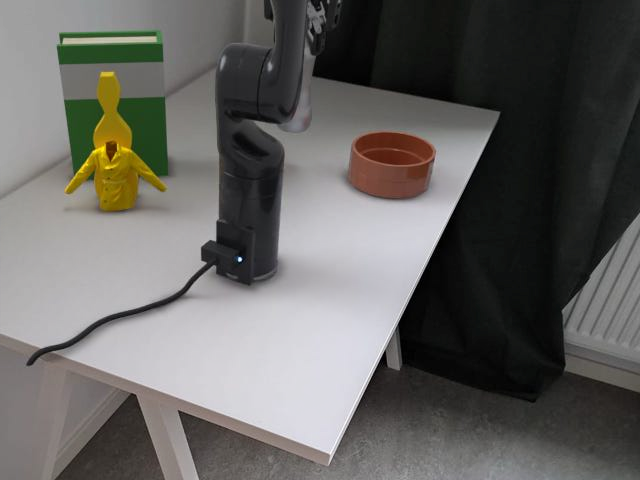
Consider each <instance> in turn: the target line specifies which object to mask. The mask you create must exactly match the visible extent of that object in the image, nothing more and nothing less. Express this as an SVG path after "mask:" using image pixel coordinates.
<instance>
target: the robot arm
mask: <svg viewBox="0 0 640 480" xmlns="http://www.w3.org/2000/svg"><path fill="white" fill-rule="evenodd" d="M326 4H327V5H328V8H327V12H326V11H325V8H324V4H323V0H263V17H264V19H265V20H267V21H268V20H269V21H271V22H272V23H273V39H272V40H273V44H274V47H273V46H266V45H259V44H251V43H250V44H249V43H243V42H232V43H228V44H227V45H226V46H225V47H224V48H223V50H222V51H221V53H220V55H219V57H218V60H217V64H216V70H215V75H214V76H215V78H214V101H215V103H214V105H215V119H216V147H217V152H218V218H217V220H216V221H215V240H212V239H209V240H207V241H206V242H205V243H204V244H203V245H202V246H201V247H200V262H203V263H205V264H204V265H203V266H202V267H200V268H199V270H197V271H196V272H195V273H194V274H193V275H192V276H191V277H190V278H189V279H188V280H187V282H186V283H185V285H184V286H183V287H182V288H181V289H179V290H178V291H177V292H175V293H174V294H172V295H171V296H170V295H169V296H168V297H166V298H163V299H161V300H158V301H155V302H152V303H148V304H145V305H143V306H139V307H136V308H131V309H128V310H124V311H119V312H116V313H113V314H108V315H107V316H104V317H102V318H100V319H98V320H96V321H94V322H92V323H91V324H90V325H88V326H87V327H86V328H85V329H83V330H82V331H81V332H80V333H78V334H77V335H75V336H74V337H72V338H70V339H69V340H67V341H65V342H61V343H56V344H53V345H52V344H51V345H48V346H43V347H42V348H39V349H37V350H36V351H35V352H34V353H33V354H32V355H31V356H30V357H29V358H28V360H27V361H26V363H25V366H26V367H30V366H33V365H34V364H35V362H36V361H37V360H38V359H39V358H40V357H42V356H45V355H46V354H49V353H54V352H57V351H58V352H59V351H62V350H65V349H69V348H71V347H72V346H75V345H76V344H78V343H80V342H81V341H82V340H83V339H86V337H87V336H89V335H90V334H91V333H92V332H94V331H95V330H96V329H98V328H100V327H102V326H103V325H105V324H107V323H110V322H112V321H113V322H114V321H115V320H119V319H123V318H127V317H131V316H135V315H139V314H142V313H146V312H148V311H152V310H154V309H157V308H160V307H161V308H162V307H164V306H166V305H169V304H171V303H173V302H175V301H177V300H178V299H180V298H181V297H183V296H184V295H185V294H187V293H188V292H189V290H190V289H191V287H192V286H193V285H194V284H195V283H196V282H197V281H198V280H199V279H200V278H201V277H202V276H203V275H204V274H205V273H206V272H208V271H209V270H210V269H211V268H213V266H214V267H215V274H216V275H218V276H221V277H223V278H226V279H228V280H232V281H234V282H237V283H240V284H243V285H246V286H248V287H249V286H252V285H253V284H254V283H260V282H264V281H266V280H268V279H270V278H272V277H273V276H274V275H275V274H276V273H277V271H278V267H279V260H278V257H279V242H280V240H279V239H280V227H281V226H280V225H281V214H282V200H283V199H282V198H283V197H282V196H283V186H284V184H283V183H284V170H285V159H286V157H285V156H286V155H285V153H286V152H285V147H284V145H283V143H282V142H281V141H280V140H278V138H276V137H275V136H273V135H272V134H270V133H268V132H267V131H265V130H263V128H261V127H260V126H259V125H258V124H257V123H256V122H260V123H265V124H274V125H277V124H287V123H289V122H290V121H291V120H292V118H293V117H294V115H295V112H296V110H297V107H298V103H299V99H300V93H301V87H302V76H303V64H304V49H305V35H306V20H307V13H308V16H309V19H310V20H311V21H312V23H311V24H312V27H313V29H314V31H315V32H313V34H312V36H313V47H312V55H313V56H316V57H317V56H319V55H321V53H322V52H323V51H324V50H325V44H326V37H327V36H326V35H327V32H332V30H334V29H337V28H338V26H339V21H340V16H341V12H342V11H341V10H342V6H343V0H326ZM326 13H327V14H326ZM325 14H326V16H325Z"/></svg>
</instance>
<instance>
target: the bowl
mask: <svg viewBox="0 0 640 480" xmlns="http://www.w3.org/2000/svg"><path fill="white" fill-rule="evenodd" d="M436 155H437V150H436V148H435V145H434V144H432V143H431V142H430V141H428V140H427V139H424V138H422V137H420V136H418V135H415V134H411V133H408V132H402V131H395V130H378V131H370V132H366V133H364V134H361V135H358V136H356V138H354V139H353V140H352V143H351V146H350V154H349V162H348V169H347V179H348V181H349V183H350V184H351V185H352V186H353V187H354V188H356V189H358V190H360V191H361V192H364V193H366V194H370V195H372V196H377V197H381V198H388V199H389V198H390V199H402V198H410V197H415V196H417V195H420V194H422V193H424V192H426V191H427V190H428V189H429V187H430V183H431V178H432V174H433V169H434V164H435V159H436Z"/></svg>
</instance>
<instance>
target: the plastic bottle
mask: <svg viewBox="0 0 640 480" xmlns="http://www.w3.org/2000/svg"><path fill="white" fill-rule="evenodd" d="M312 27H313V23H312V21H311V20H310V19H309V16H308V13H307V20H306V35H305V49H304V64H303V76H302V87H301V93H300V99H299V103H298V107H297V110H296V112H295V115H294V117H293V118H292V120H291V121H290V122H289V123H287V124H276V125H277V127H278V129H279V130H281V131H283V132H285V133H291V134H297V133H303V132H305V131H307V130H308V129H309V128H310V126H311V123H312V118H313V114H312V113H313V112H312V105H311V103H312V102H311V101H312V98H311V97H312V94H311V93H312V91H311V89H312V79H313V74H314V73H313V72H314V68H315V62H316V58H317V56H313V55H312V47H313V34H312V33H311V29H312Z"/></svg>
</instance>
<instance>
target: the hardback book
mask: <svg viewBox="0 0 640 480" xmlns="http://www.w3.org/2000/svg"><path fill="white" fill-rule="evenodd" d="M58 37H59V38H58V39H59V43H58V44H56V52H57V59H58V67H59V75H60V81H61V82H60V83H61V88H62V89H61V90H62V97H63V105H64V110H65V111H64V112H65V118H66V126H67V133H68V134H67V135H68V141H69V148H70V156H71V163H72V170H73V177H74V176H75V175H76V174H77V172H78V171H79V170H80V168H81V167H82V166H83V165H84V164H85V162H86V161H87V159H88V158H89V156H90V155H91V153H92V151H94V150H95V145H94V141H93V136H94V132H95V128H96V127H97V125H98V123H99V122H100V120H101V119H102V117H103V116H104V114H105V113H104V110H103V108H102V106H101V104H100V102H99V100H98V97H97V87H98V83H99V79H100V75H101V72H114V73H115V75H116V77H117V80H118V82H119V85H120V89H121V92H120V98H119V103H118V106H117V112H118V114H119V115H120V116H121V118H122V119H123V120H124V121H125V122H126V124H127V125H128V126H129V127H130V129H131V132H132V143H131V150H132V151H133V152H134V153H135V154H136V155H137V156H138V157H139V158H140V159H141V160H142V161H143V162H144V163H145V164H146V165H147V166H148V167H149V168H150V170H151V171H152V172H153V173H154V174H155V175H156V176H157V177H161V176H164V177H165V176H169V157H168V153H169V152H168V134H167V133H168V132H167V131H168V130H167V110H166V89H165V88H166V87H165V84H166V83H165V63H164V43H163V36H162V30H161V29H155V30H154V29H153V30H152V29H151V30H150V29H149V30H110V31H109V30H108V31H66V32H65V31H64V32H63V31H62V32H58ZM95 171H96V169H95V170H94V171H93V172H92V174H91V175H90V176H89V177H88V178H87V179H88V180H89V179H94V177H95ZM138 177H141V176H140V175H139V174H138ZM87 179H86V180H87Z"/></svg>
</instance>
